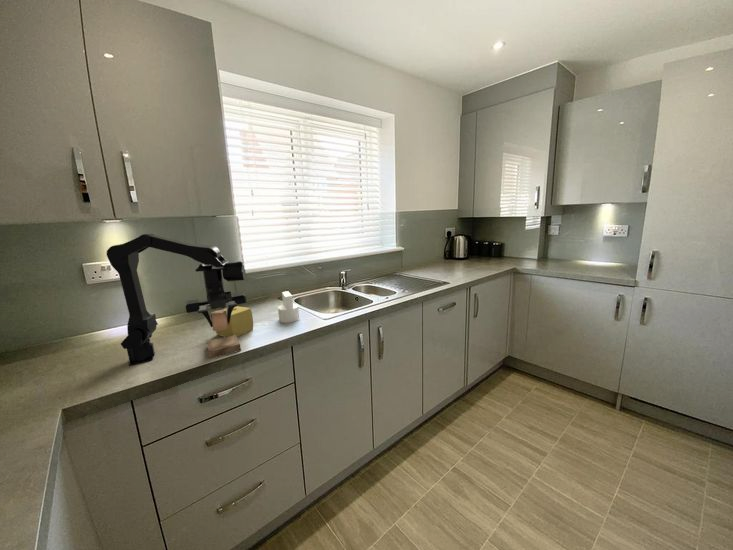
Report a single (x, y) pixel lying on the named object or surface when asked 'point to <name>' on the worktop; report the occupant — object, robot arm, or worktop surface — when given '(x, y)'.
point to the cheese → (238, 322)
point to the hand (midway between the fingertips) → (220, 325)
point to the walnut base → (223, 346)
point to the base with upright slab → (288, 309)
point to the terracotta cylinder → (219, 320)
